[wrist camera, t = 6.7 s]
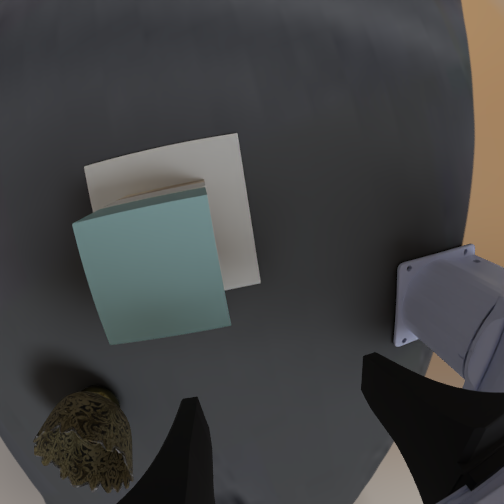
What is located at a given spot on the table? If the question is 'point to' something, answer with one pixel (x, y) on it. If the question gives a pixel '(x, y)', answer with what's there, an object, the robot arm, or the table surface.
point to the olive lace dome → (88, 440)
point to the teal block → (153, 267)
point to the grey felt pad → (182, 171)
